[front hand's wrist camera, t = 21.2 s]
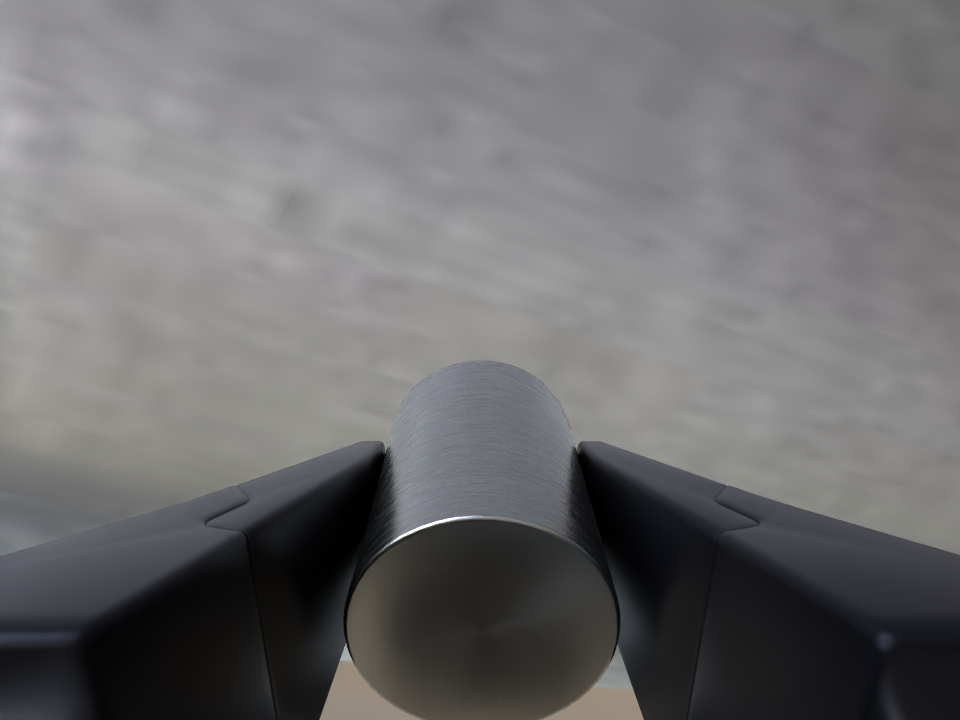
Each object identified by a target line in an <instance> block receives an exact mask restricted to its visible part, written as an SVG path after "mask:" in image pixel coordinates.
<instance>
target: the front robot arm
mask: <svg viewBox="0 0 960 720" xmlns="http://www.w3.org/2000/svg"><path fill="white" fill-rule="evenodd" d="M577 454H578V458H579V461H580V465H581V468H582V472H583V476H584V479H585V483H586V486H587V490H588V494H589V497H590V501H591V504H592V508H593V511H594V515H595V519H596V522H597V526H598V529H599V533H600V536H601V540H602V544H603V547H604V551H605V554H606V558H607V561H608V565H609V569H610V572H611V576H612V579H613V583H614V586H615V590H616V594H617V597H618V602H619V607H620V617H621V627H620V634H619V640H618V643H617V644H618V646H619V649H620V652H621V655H622V658H623V661H624V664H625V667H626V669H627V672H628V675H629V678H630V681H631V684H632V687H633V690H634V692H635V695H636V698H637V701H638V704H639V707H640V710H641V712H642V715H643V718H644V720H960V555H958V554H954V553H951V552H947V551H944V550H941V549H937V548H934V547H930V546H927V545H923V544H920V543H917V542H913V541H910V540H906V539H903V538H899V537H896V536H893V535H889V534H886V533H882V532H879V531H875V530H872V529H869V528H865V527H862V526H858V525H855V524H851V523H848V522H845V521H841V520H838V519H834V518H831V517H827V516H824V515H821V514H817V513H814V512H810V511H807V510H803V509H800V508H797V507H794V506H790V505H787V504H784V503H781V502H777V501H774V500H771V499H768V498H765V497H762V496H759V495H756V494H753V493H750V492H747V491H744V490H741V489H738V488H735V487H732V486H726V485H724V484H721V483H718V482H715V481H712V480H710V479H707V478H704V477H701V476H698V475H695V474H692V473H689V472H687V471H684V470H681V469H678V468H675V467H672V466H669V465H667V464H664V463H661V462H658V461H655V460H652V459H649V458H646V457H644V456H641V455H638V454H635V453H632V452H629V451H626V450H624V449H621V448H618V447H615V446H612V445H609V444H606V443H603V442H595V441H582V442H580V443H579V445H578V450H577ZM384 458H385V447H384V444H383V443H382V442H380V441H368V442H359V443H356V444H353V445H350V446H348V447H345V448H342V449H339V450H336V451H333V452H331V453H328V454H325V455H322V456H319V457H316V458H313V459H311V460H308V461H305V462H302V463H299V464H296V465H294V466H291V467H288V468H285V469H282V470H279V471H277V472H274V473H271V474H268V475H265V476H262V477H259V478H257V479H254V480H251V481H248V482H245V483H242V484H240V485H238V486H237V487H236V486H231V487H229V488H226V489H223V490H220V491H217V492H214V493H211V494H208V495H205V496H202V497H199V498H196V499H193V500H190V501H187V502H183V503H180V504H177V505H174V506H170V507H167V508H164V509H161V510H157V511H154V512H150V513H147V514H144V515H140V516H137V517H133V518H130V519H127V520H123V521H120V522H116V523H113V524H110V525H106V526H103V527H99V528H96V529H93V530H89V531H86V532H82V533H79V534H75V535H72V536H69V537H65V538H62V539H58V540H55V541H52V542H48V543H45V544H41V545H38V546H35V547H31V548H28V549H24V550H21V551H18V552H14V553H11V554H7V555H4V556H1V557H0V720H319V719H320V716H321V713H322V710H323V708H324V705H325V702H326V699H327V696H328V693H329V690H330V687H331V684H332V681H333V678H334V676H335V672H336V670H337V667H338V664H339V661H340V658H341V655H342V652H343V649H344V646H345V644H346V640H345V636H344V626H343V615H344V606H345V602H346V598H347V594H348V591H349V587H350V583H351V580H352V576H353V572H354V569H355V565H356V561H357V557H358V554H359V550H360V546H361V543H362V539H363V535H364V532H365V528H366V524H367V520H368V517H369V513H370V509H371V506H372V502H373V498H374V495H375V491H376V487H377V483H378V480H379V476H380V472H381V469H382V465H383V461H384Z"/></svg>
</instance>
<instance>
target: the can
mask: <svg viewBox="0 0 960 720" xmlns="http://www.w3.org/2000/svg"><path fill="white" fill-rule="evenodd" d="M343 626H344V636H345V640H346V644H347V648H348V651H349V653H350V656H351V658H352V660H353V663H354V665H355V666H356V668H357V669H358V671H359V673H360V674H361V676H362V677H363V678H364V679H365V681H366V682H367V683H368V684H369V685H370V687H372V688H373V689H374V690H375V691H376V692H377V693H378V694H379V695H380V696H381V697H383V698H384V699H385V700H387V701H388V702H390V703H391V704H392V705H394V706H395V707H397V708H399V709H401V710H403V711H404V712H406V713H408V714H411V715H413V716H415V717H417V718H420V719H422V720H541V719H544V718H546V717H549V716H551V715H553V714H555V713H557V712H559V711H561V710H563V709H565V708H567V707H568V706H570V705H571V704H573V703H574V702H576V701H577V700H579V699H580V698H581V697H582V696H583V695H584V694H586V693H587V692H588V691H589V690H590V689H591V688H592V687H593V686H594V685H595V684H596V683H597V682H598V680H599V679H600V678H601V677H602V675H603V674H604V672H605V671H606V669H607V668H608V666H609V664H610V662H611V660H612V658H613V656H614V653H615V650H616V647H617V643H618V640H619V634H620V627H621V617H620V607H619V602H618V597H617V594H616V590H615V586H614V583H613V579H612V576H611V572H610V569H609V565H608V561H607V558H606V554H605V551H604V547H603V544H602V540H601V536H600V533H599V529H598V526H597V522H596V519H595V515H594V511H593V508H592V504H591V501H590V497H589V494H588V490H587V486H586V483H585V479H584V476H583V472H582V468H581V465H580V461H579V458H578V454H577V451H576V447H575V443H574V440H573V436H572V433H571V429H570V426H569V422H568V419H567V416H566V413H565V411H564V409H563V407H562V405H561V403H560V401H559V400H558V398H557V397H556V396H555V395H554V393H553V392H552V391H551V390H550V389H549V388H548V387H547V386H546V385H545V384H544V383H543V382H542V381H540V380H539V379H538V378H536V377H535V376H533V375H532V374H530V373H528V372H526V371H524V370H522V369H520V368H517V367H515V366H512V365H508V364H504V363H500V362H493V361H470V362H463V363H459V364H454V365H451V366H448V367H445V368H443V369H440V370H438V371H436V372H435V373H433V374H431V375H429V376H428V377H426V378H425V379H423V380H422V381H421V382H420V383H419V384H417V385H416V386H415V387H414V388H413V389H412V390H411V391H410V393H409V394H408V395H407V396H406V398H405V399H404V401H403V402H402V404H401V406H400V407H399V410H398V412H397V414H396V417H395V421H394V424H393V428H392V432H391V435H390V439H389V443H388V446H387V450H386V454H385V458H384V461H383V465H382V469H381V472H380V476H379V480H378V483H377V487H376V491H375V495H374V498H373V502H372V506H371V509H370V513H369V517H368V520H367V524H366V528H365V532H364V535H363V539H362V543H361V546H360V550H359V554H358V557H357V561H356V565H355V569H354V572H353V576H352V580H351V583H350V587H349V591H348V594H347V598H346V602H345V606H344V615H343Z"/></svg>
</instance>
